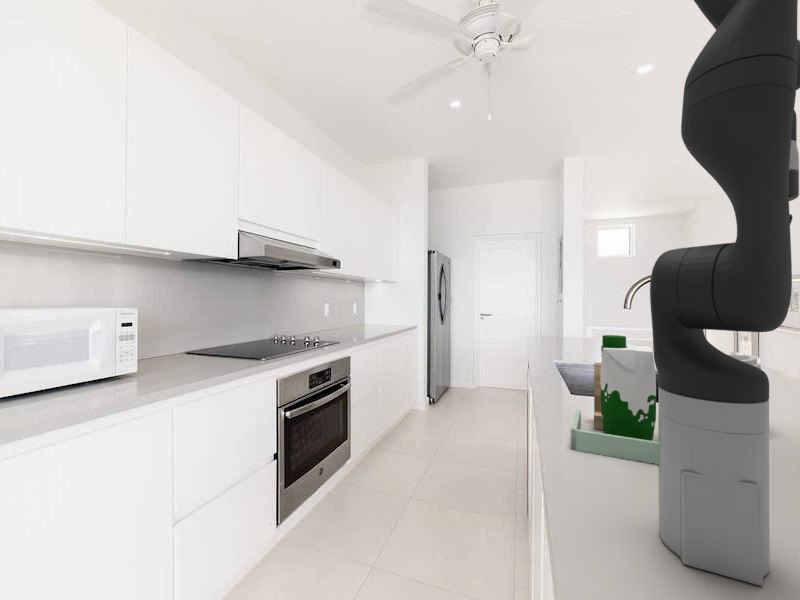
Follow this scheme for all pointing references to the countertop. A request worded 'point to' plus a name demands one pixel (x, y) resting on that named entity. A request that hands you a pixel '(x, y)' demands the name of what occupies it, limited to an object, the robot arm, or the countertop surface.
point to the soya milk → (627, 389)
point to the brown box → (597, 398)
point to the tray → (612, 444)
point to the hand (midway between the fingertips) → (766, 276)
